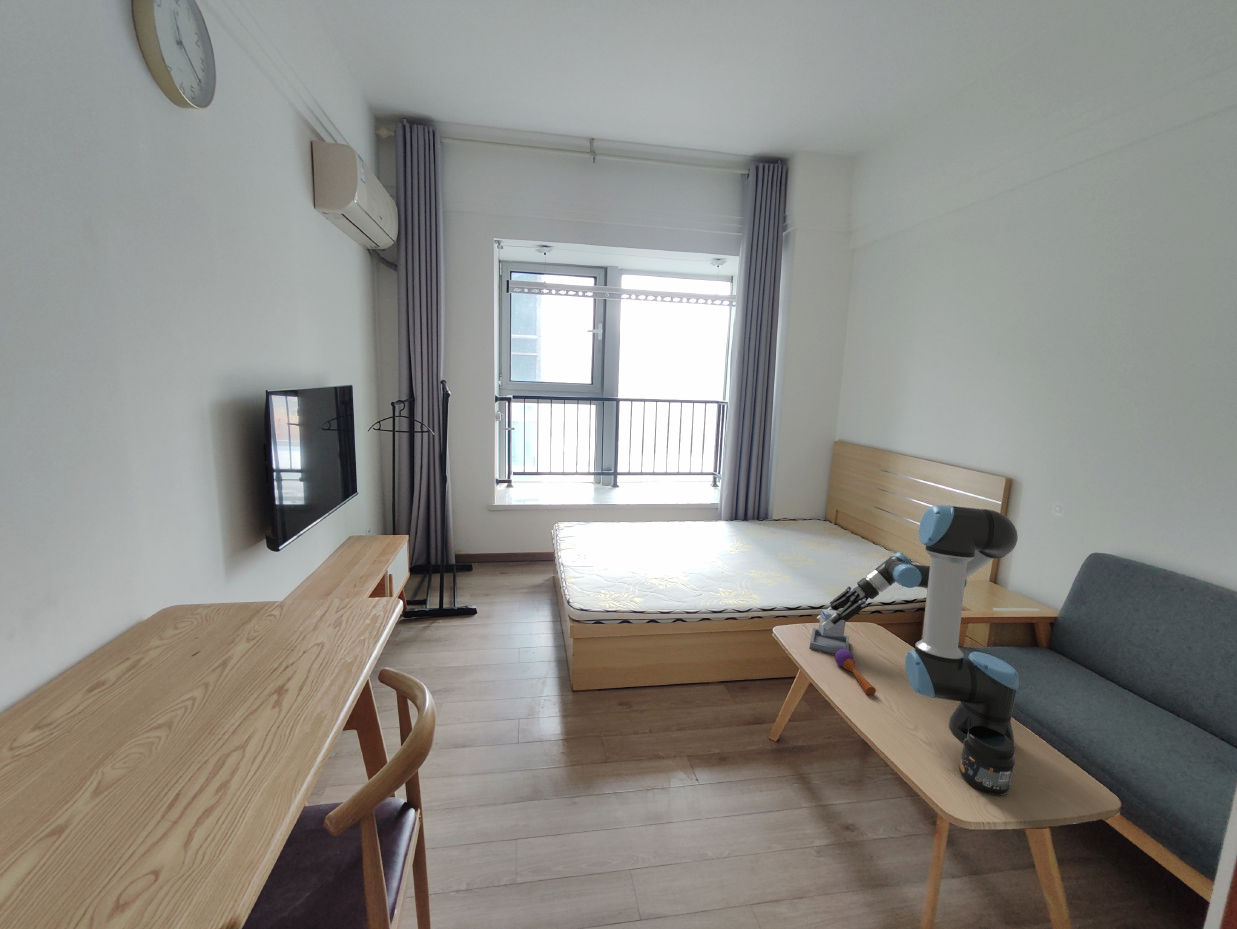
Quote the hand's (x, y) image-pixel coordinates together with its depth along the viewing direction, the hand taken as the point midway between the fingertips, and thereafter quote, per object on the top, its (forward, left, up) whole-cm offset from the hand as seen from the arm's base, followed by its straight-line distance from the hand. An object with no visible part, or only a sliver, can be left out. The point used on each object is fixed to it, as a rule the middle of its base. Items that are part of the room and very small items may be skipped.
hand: (821, 623), depth 192 cm
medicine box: (+2, -3, -4) cm, 6 cm away
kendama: (-18, -12, -9) cm, 23 cm away
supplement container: (-52, -42, -9) cm, 68 cm away
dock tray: (+1, -4, -8) cm, 9 cm away
